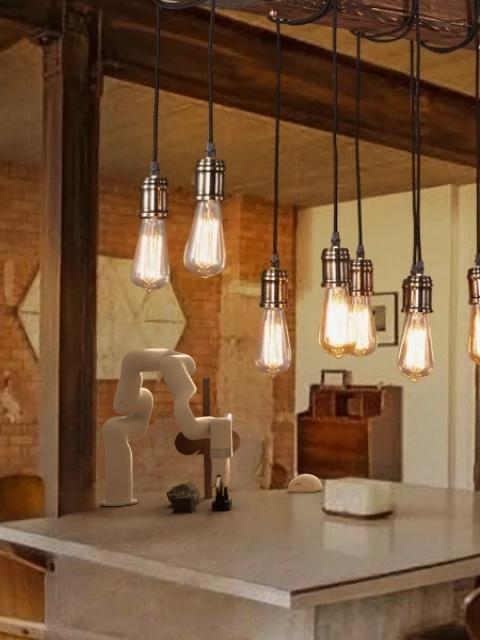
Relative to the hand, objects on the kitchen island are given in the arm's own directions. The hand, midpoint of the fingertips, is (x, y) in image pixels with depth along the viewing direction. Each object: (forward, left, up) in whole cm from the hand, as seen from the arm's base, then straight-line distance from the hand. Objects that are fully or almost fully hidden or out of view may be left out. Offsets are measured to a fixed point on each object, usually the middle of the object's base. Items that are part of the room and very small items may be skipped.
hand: (221, 505), depth 376 cm
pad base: (+2, -13, -1) cm, 13 cm away
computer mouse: (-41, +25, -1) cm, 48 cm away
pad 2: (0, 0, -1) cm, 1 cm away
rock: (-17, -17, -1) cm, 24 cm away
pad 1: (+2, -13, +1) cm, 13 cm away
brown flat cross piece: (-31, -11, -1) cm, 32 cm away
